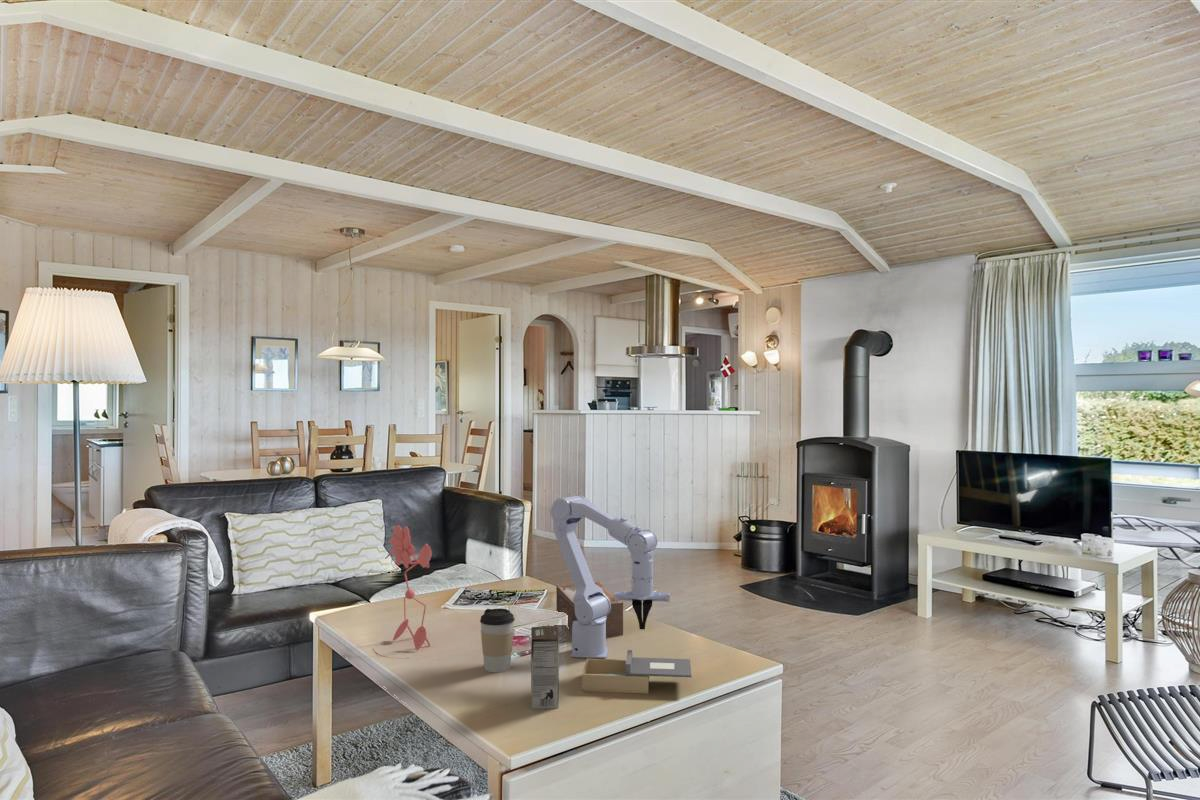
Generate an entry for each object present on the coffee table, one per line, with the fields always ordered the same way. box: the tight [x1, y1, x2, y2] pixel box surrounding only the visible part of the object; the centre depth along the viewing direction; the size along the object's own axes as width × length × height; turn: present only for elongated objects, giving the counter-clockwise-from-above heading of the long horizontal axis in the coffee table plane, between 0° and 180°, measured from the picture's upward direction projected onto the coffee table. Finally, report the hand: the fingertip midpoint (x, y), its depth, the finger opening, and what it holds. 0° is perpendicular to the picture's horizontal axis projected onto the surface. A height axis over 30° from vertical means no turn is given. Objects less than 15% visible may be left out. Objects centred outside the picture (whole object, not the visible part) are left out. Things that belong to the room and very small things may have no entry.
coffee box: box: [530, 626, 560, 710], centre depth 171 cm, size 9×6×16 cm
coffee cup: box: [479, 608, 516, 673], centre depth 193 cm, size 9×9×15 cm
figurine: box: [384, 524, 432, 651], centre depth 208 cm, size 15×26×35 cm, turn 43°
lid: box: [625, 649, 692, 678], centre depth 181 cm, size 16×11×2 cm
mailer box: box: [581, 658, 650, 694], centre depth 182 cm, size 16×11×4 cm
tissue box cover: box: [555, 581, 624, 638], centre depth 230 cm, size 26×14×10 cm, turn 17°
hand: (642, 628), depth 194 cm, fingers closed
